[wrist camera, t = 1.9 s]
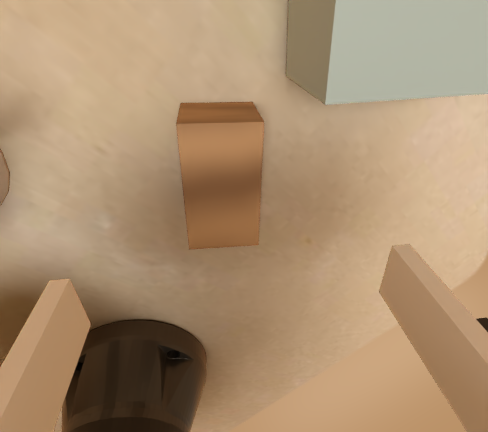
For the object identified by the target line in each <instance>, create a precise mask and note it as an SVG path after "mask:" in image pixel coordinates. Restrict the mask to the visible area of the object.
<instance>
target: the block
mask: <svg viewBox="0 0 488 432" xmlns="http://www.w3.org/2000/svg"><path fill="white" fill-rule="evenodd" d="M286 76H287V77H288V78H290V79H291V80H292V81H294V82H295V83H296V84H298V85H299V86H300V87H302V88H303V89H304V90H306V91H307V92H308V93H310V94H311V95H313V96H314V97H315V98H317V99H318V100H319V101H321V102H322V103H323V104H325V105H330V104H345V103H360V102H375V101H390V100H405V99H420V98H434V97H449V96H464V95H479V94H488V0H289V3H288V32H287V60H286Z"/></svg>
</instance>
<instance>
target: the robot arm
mask: <svg viewBox="0 0 488 432" xmlns="http://www.w3.org/2000/svg"><path fill="white" fill-rule="evenodd" d="M379 293H380V294H381V296H382V297H383V299H384V301H385V302H386V304H387V305H388V307H389V309H390V310H391V312H392V313H393V315H394V317H395V318H396V320H397V321H398V323H399V325H400V326H401V328H402V329H403V331H404V332H405V334H406V335H407V337H408V339H409V340H410V342H411V344H412V345H413V347H414V348H415V350H416V351H417V353H418V355H419V356H420V358H421V360H422V361H423V363H424V364H425V366H426V367H427V369H428V371H429V372H430V374H431V375H432V377H433V379H434V380H435V382H436V383H437V385H438V387H439V388H440V390H441V391H442V393H443V394H444V396H445V398H446V399H447V401H448V403H449V404H450V406H451V407H452V409H453V410H454V412H455V414H456V415H457V417H458V418H459V420H460V422H461V423H462V425H463V426H464V428H465V430H466V431H467V432H488V319H487V318H479V319H475V317H474V316H473V315H472V314H471V313H470V312H469V311H468V310H467V309H466V307H465V306H464V305H463V304H462V303H461V302H460V301H459V299H458V298H457V297H456V296H455V295H454V294H453V293H452V291H451V290H450V289H449V288H448V287H447V286H446V285H445V284H444V282H443V281H442V280H441V279H440V278H439V277H438V276H437V275H436V273H435V272H434V271H433V270H432V269H431V268H430V267H429V266H428V264H427V263H426V262H425V261H424V260H423V259H422V258H421V257H420V255H419V254H418V253H417V252H416V251H415V250H414V249H413V248H412V246H411V245H410V244H405V245H395V246H392V248H391V251H390V255H389V258H388V262H387V265H386V269H385V272H384V276H383V279H382V283H381V286H380V290H379ZM90 326H91V323H90V321H89V319H88V316H87V314H86V312H85V310H84V308H83V306H82V304H81V302H80V299H79V297H78V295H77V293H76V291H75V289H74V287H73V284H72V282H71V280H70V278H69V279H60V280H50V281H49V282H48V284H47V286H46V287H45V289H44V291H43V293H42V294H41V296H40V298H39V300H38V301H37V303H36V305H35V307H34V309H33V310H32V312H31V314H30V316H29V317H28V319H27V321H26V323H25V325H24V326H23V328H22V330H21V332H20V333H19V335H18V337H17V339H16V340H15V342H14V344H13V346H12V348H11V349H10V351H9V353H8V355H7V356H6V358H5V360H4V362H3V363H2V365H1V367H0V432H53V430H54V427H55V425H56V422H57V419H58V416H59V413H60V410H61V408H62V432H190V430H191V427H192V424H193V420H194V417H195V414H196V411H197V407H198V404H199V401H200V398H201V394H202V391H203V388H204V385H205V381H206V354H205V351H204V349H203V347H202V345H201V344H200V342H199V341H198V340H197V339H196V338H195V337H193V336H192V335H191V334H189V333H188V332H186V331H184V330H182V329H180V328H178V327H175V326H172V325H169V324H165V323H161V322H155V321H145V320H132V321H122V322H116V323H111V324H108V325H104V326H101V327H99V328H96V329H94V330H92V331H90V332H89V333H88V331H89V328H90Z"/></svg>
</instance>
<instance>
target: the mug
mask: <svg viewBox="0 0 488 432" xmlns="http://www.w3.org/2000/svg"><path fill="white" fill-rule="evenodd" d="M9 175H10V172H9V169H8V166H7V164H6V161H5V158H4V155H3V152H2V151H1V149H0V206H1V204H2V203H3V201H4V199H5V197H6V195H7V193H8V191H9Z"/></svg>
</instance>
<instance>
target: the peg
mask: <svg viewBox="0 0 488 432" xmlns="http://www.w3.org/2000/svg"><path fill="white" fill-rule="evenodd" d="M176 126H177V136H178V145H179V155H180V164H181V174H182V184H183V193H184V203H185V213H186V222H187V232H188V241H189V249H202V248H218V247H234V246H250V245H258V241H259V219H260V198H261V177H262V156H263V135H264V121H263V119H262V117H261V116H260V114H259V112H258V111H257V109H256V107H255V105H254V104H253V102H220V103H181V104H180V109H179V113H178V118H177V123H176Z"/></svg>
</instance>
